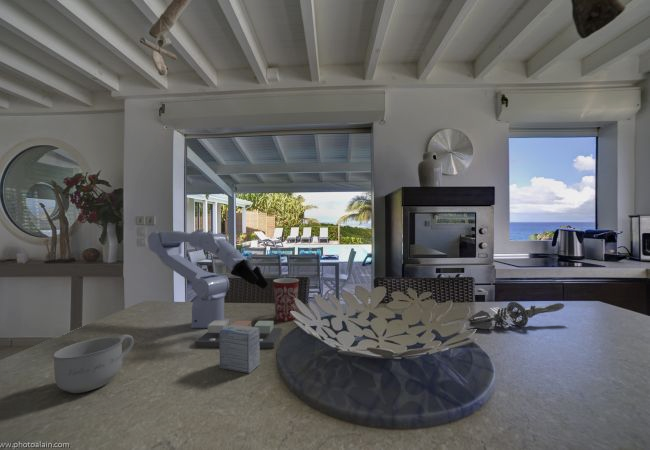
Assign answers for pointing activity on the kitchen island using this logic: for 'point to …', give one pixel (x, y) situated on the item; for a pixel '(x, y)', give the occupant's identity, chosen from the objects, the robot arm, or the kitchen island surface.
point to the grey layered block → (239, 348)
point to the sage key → (265, 326)
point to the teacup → (89, 363)
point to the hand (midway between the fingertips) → (261, 284)
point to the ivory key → (217, 326)
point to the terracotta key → (242, 323)
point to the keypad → (264, 339)
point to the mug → (285, 298)
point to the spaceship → (510, 315)
